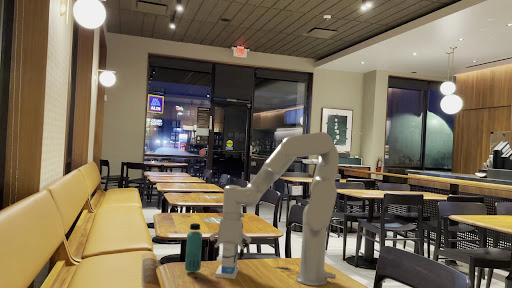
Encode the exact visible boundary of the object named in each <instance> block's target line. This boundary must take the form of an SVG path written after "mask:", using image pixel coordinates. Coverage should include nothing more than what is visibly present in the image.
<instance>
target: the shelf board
mask: <svg viewBox="0 0 512 288" xmlns="http://www.w3.org/2000/svg"><path fill="white" fill-rule="evenodd" d="M221 269H222V264H219V266H218V268H217V270H216V272H215V273H214V278H220V279H221V278H222V279H223V278H224V279H231V280H232V279H233V280H235V279H236V277H237V275H238V273H239V269H240V266H239V265H237V268H236V269H235V271H234V272H233V274H229V273H221Z"/></svg>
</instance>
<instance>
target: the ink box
mask: <svg viewBox="0 0 512 288" xmlns="http://www.w3.org/2000/svg"><path fill="white" fill-rule="evenodd" d="M238 249H239V245H236V244H232V243H222V254H221V255H222V257H221V258H222V259H221V265H222V269H221V273H229V274H233V272H234V271H235V269H236V268H237V266H238V253H239V252H238Z"/></svg>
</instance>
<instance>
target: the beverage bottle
mask: <svg viewBox="0 0 512 288" xmlns="http://www.w3.org/2000/svg"><path fill="white" fill-rule="evenodd" d="M189 230H191V231H189V232H188V233H187V234H186V248H185V250H186V251H185V252H186V253H185V262H184V263H185V264H184V269H185V271H186V272H195V273H197V272H199V271H200V270H201V265H202V264H201V263H202V247H203V234H202V233H201V232H200V231H199V230H201V224H200V223H190V226H189Z"/></svg>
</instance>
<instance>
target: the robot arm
mask: <svg viewBox="0 0 512 288" xmlns="http://www.w3.org/2000/svg"><path fill="white" fill-rule="evenodd" d="M310 156H316V157H317V159H316V161H317V162H316V167H315V172H314V175H313V179H312V182H311V185H310V197H309V201H308V204H307V205H306V206H304V209H303V212H302V236H301V249H300V251H301V252H300V268H299V270H300V271H299V273H298V274H296V276H295V280H296V281H297V282H298V283H300V284H303V285H307V286H312V287H313V286H314V287H315V286H316V287H318V286H320V287H321V286H324V285H326V284H327V283H328V279H331V280H332V279H333V280H336V277H337V276H336V274H335V273H333V272H331V271H325V270H326V269H325V260H326V259H325V258H326V257H325V256H326V244H327V243H326V242H327V228H328V226H329V224H330V222H331V219H332V216H333V213H334V208H335V204H336V200H337V195H338V194H337V193H338V189H337V186H336V184H335V182H336V179H337V178H336V177H337V173H338V168H339V161H340V157H339V156H340V155H339V151H338V149H337V147H336V145H335V144H334V142H333V139H332V136H331V135H330V134H329V133H327V132H325V131H318V132H312V133H305V134H297V135H288V136H287V137H285V138H284V139H283V140H282V141H281V143H280V144H279V145H278V146H277V147H276V149H275V150H274V151H273V152H272V153H271V155H270V156H269V157H268V158H267V159H266V161H265V162H264V164H263V165H261V166H262V167H261V168H260V170H259V171H258V172H257V174H256V175H255V176H254V178H253V179H252V180H251V181H249V183H248V184H247V186H246V187H241V186H239V185H233V184H231V185H230V184H229V185H226V186H225V187H223V197H222V199H223V200H222V201H223V202H222V217H220V220H219V225H218V231H217V232H214V233H212V234H210V235H209V239H210V242H211V243H212V245H213V246H214V255H215V257H216V258H218V257H219V256H220V247H221V246H220V245H221V244H223V243H232V244H236V245H238V247H239V260H242V259H243V258H244V257H245V249H246V248H247V247H248V246H249V245H250V244H251V241H252V238H251V237H250V236H248V235H246V234H244V221H243V219H242V218H245V213H243V212H242V205H244V206H249V207H254V206H256V205H257V204H258V203H259V202H260V200H261V197H263V195H264V194H265V192H266V191H267V190H268V189H269V188H270V187H271V185H272V184H274V183H275V182H276V181H277V180H279V178H281V177H282V176H283V174H284V173H285V172H286V171H287V169H288V168H289V167H290V166H291V165H292V163H293V162H294V161H295V160H296V158H303V157H310ZM215 237H217V240H216V239H215ZM244 240H245V241H246V242H245V243H243V241H244Z"/></svg>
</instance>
